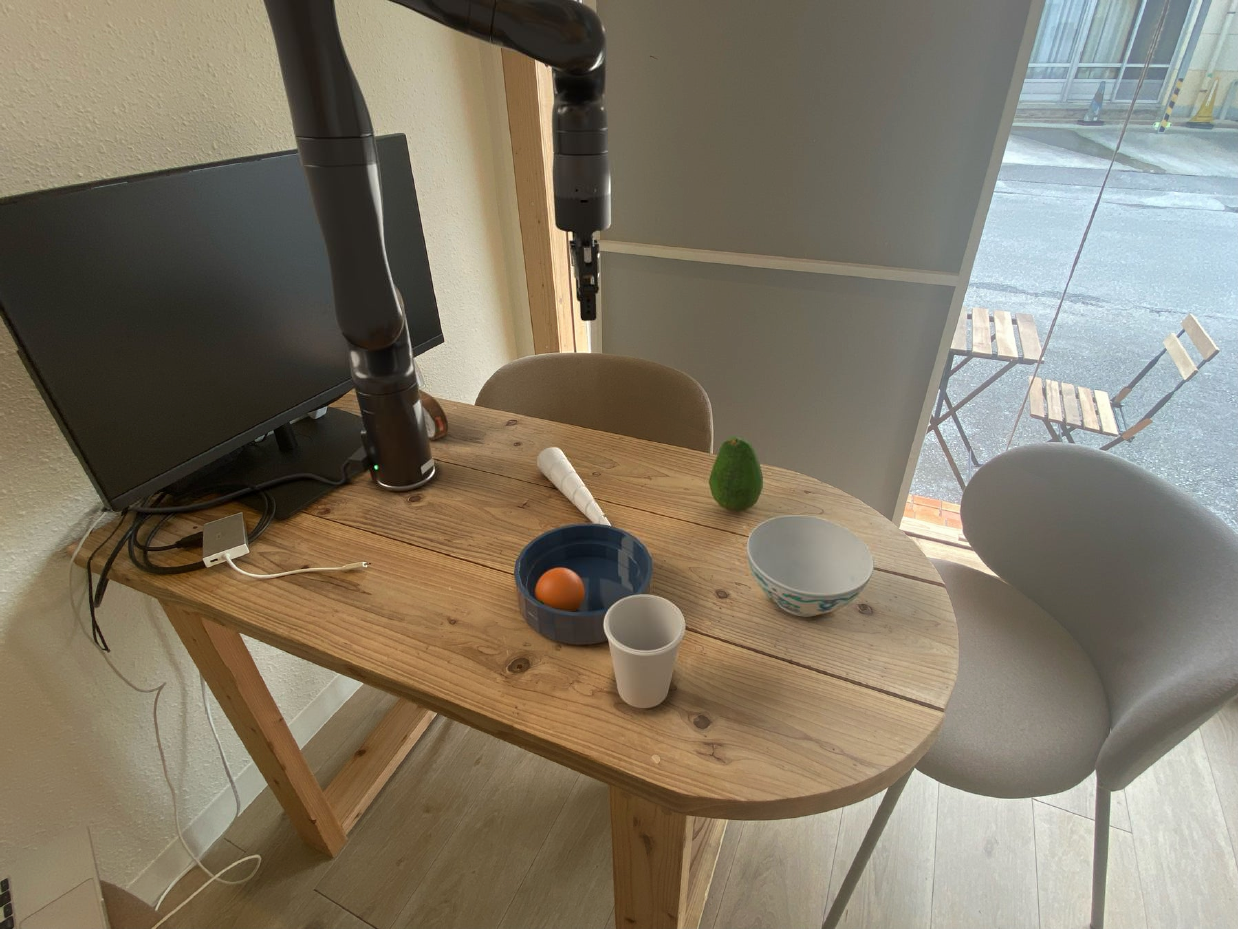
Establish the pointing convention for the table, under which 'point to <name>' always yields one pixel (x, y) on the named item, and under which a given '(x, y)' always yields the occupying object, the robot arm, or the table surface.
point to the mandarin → (560, 590)
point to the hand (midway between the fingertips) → (586, 310)
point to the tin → (433, 416)
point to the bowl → (582, 578)
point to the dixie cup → (644, 647)
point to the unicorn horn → (569, 483)
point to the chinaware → (808, 563)
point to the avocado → (736, 475)
